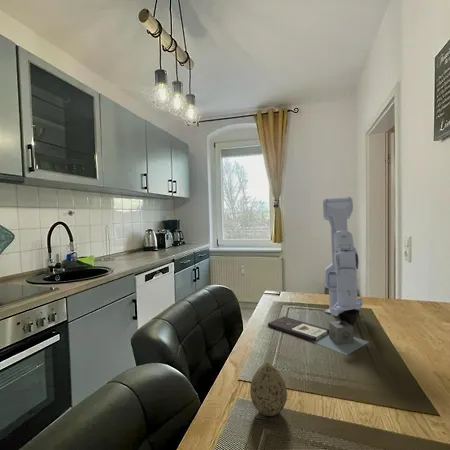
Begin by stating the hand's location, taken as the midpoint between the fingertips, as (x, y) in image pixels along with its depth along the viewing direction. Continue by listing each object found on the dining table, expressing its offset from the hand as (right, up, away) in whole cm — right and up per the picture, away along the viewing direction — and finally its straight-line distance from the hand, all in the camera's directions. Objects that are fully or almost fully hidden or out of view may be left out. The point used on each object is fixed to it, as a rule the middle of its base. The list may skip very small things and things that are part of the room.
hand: (348, 332), depth 90 cm
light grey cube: (-3, -2, -2) cm, 4 cm away
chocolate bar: (-14, -2, +7) cm, 16 cm away
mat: (-4, -2, -3) cm, 5 cm away
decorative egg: (-29, -4, -32) cm, 44 cm away
